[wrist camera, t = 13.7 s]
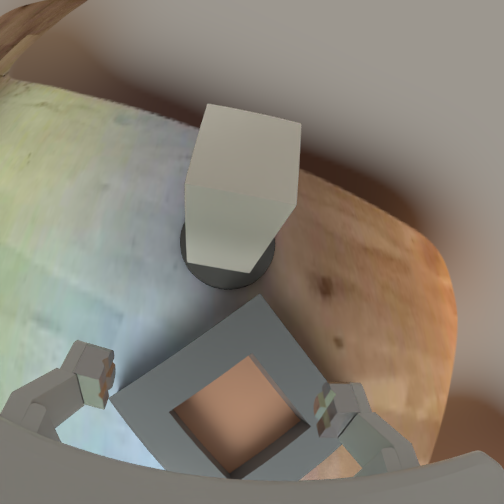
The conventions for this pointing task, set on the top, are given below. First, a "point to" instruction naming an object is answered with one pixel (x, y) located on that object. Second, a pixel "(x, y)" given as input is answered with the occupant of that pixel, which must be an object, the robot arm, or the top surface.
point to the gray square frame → (232, 403)
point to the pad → (224, 276)
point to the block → (239, 186)
